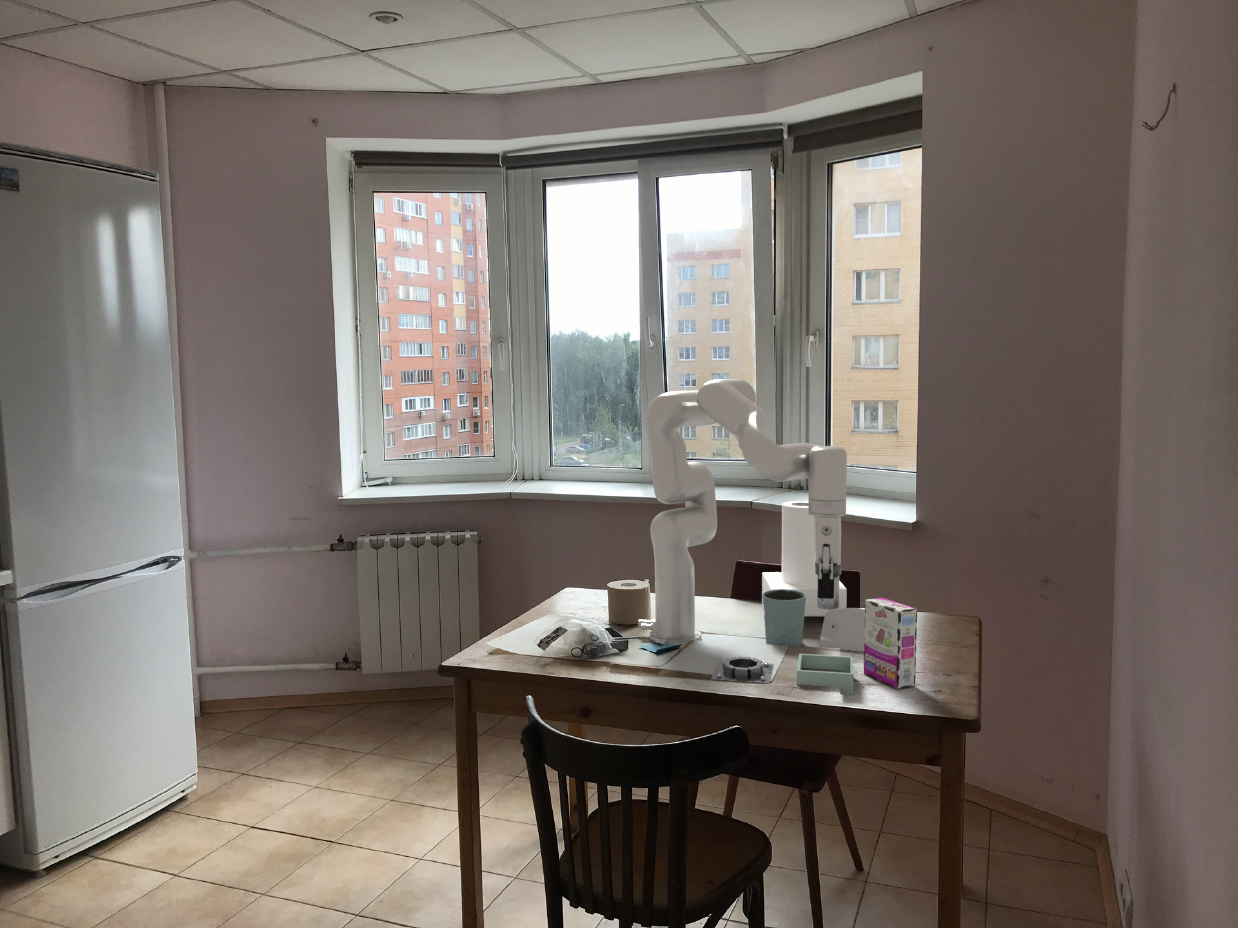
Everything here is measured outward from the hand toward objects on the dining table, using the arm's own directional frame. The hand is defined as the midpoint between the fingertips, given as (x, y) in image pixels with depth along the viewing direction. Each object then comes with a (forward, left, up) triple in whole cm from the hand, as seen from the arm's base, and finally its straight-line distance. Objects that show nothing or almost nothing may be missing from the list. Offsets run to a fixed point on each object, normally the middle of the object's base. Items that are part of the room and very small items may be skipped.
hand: (826, 593), depth 190 cm
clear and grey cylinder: (+1, 0, -3) cm, 3 cm away
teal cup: (-10, +26, -19) cm, 34 cm away
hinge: (+7, +27, -20) cm, 34 cm away
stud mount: (-17, 0, -19) cm, 26 cm away
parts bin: (0, 0, -19) cm, 19 cm away
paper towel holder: (-7, +49, -19) cm, 53 cm away
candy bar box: (+13, +5, -19) cm, 24 cm away
